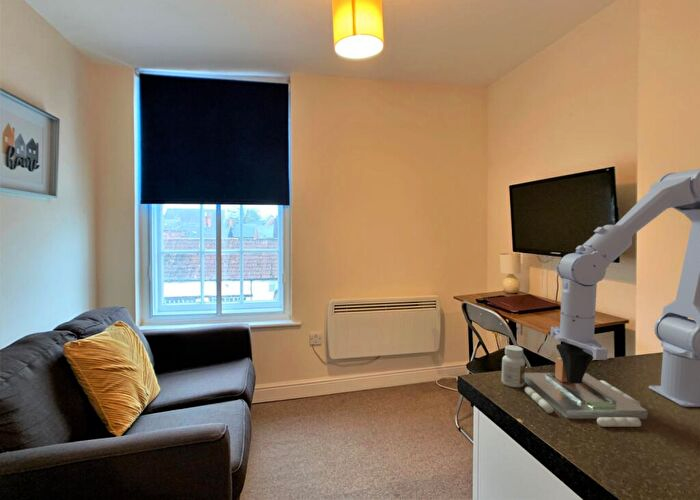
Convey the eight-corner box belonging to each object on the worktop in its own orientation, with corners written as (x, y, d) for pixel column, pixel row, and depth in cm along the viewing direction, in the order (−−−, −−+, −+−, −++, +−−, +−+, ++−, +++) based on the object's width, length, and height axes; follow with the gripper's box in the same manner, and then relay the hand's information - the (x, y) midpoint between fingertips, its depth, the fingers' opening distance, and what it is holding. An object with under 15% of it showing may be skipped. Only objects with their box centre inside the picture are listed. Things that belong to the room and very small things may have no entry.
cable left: (634, 423, 61) (634, 415, 61) (640, 428, 60) (641, 420, 60) (594, 423, 61) (595, 415, 61) (600, 428, 60) (600, 420, 60)
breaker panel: (586, 379, 79) (586, 370, 79) (646, 419, 63) (647, 407, 63) (522, 379, 79) (522, 370, 79) (566, 418, 63) (567, 406, 63)
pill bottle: (526, 389, 74) (528, 352, 74) (503, 387, 75) (505, 350, 74) (521, 380, 78) (522, 345, 78) (499, 378, 79) (500, 343, 79)
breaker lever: (569, 376, 76) (570, 356, 76) (576, 381, 73) (577, 360, 73) (554, 376, 76) (555, 356, 76) (561, 381, 73) (562, 360, 73)
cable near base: (603, 385, 76) (603, 379, 76) (640, 408, 66) (640, 401, 66) (596, 385, 76) (596, 379, 76) (632, 408, 66) (633, 401, 66)
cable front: (530, 392, 73) (530, 385, 73) (553, 413, 64) (553, 405, 64) (523, 392, 73) (523, 385, 73) (545, 413, 64) (545, 405, 64)
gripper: (537, 306, 78) (535, 367, 79) (581, 324, 64) (577, 399, 65) (570, 306, 78) (567, 368, 79) (620, 324, 64) (616, 399, 65)
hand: (574, 382), depth 72 cm, fingers closed
